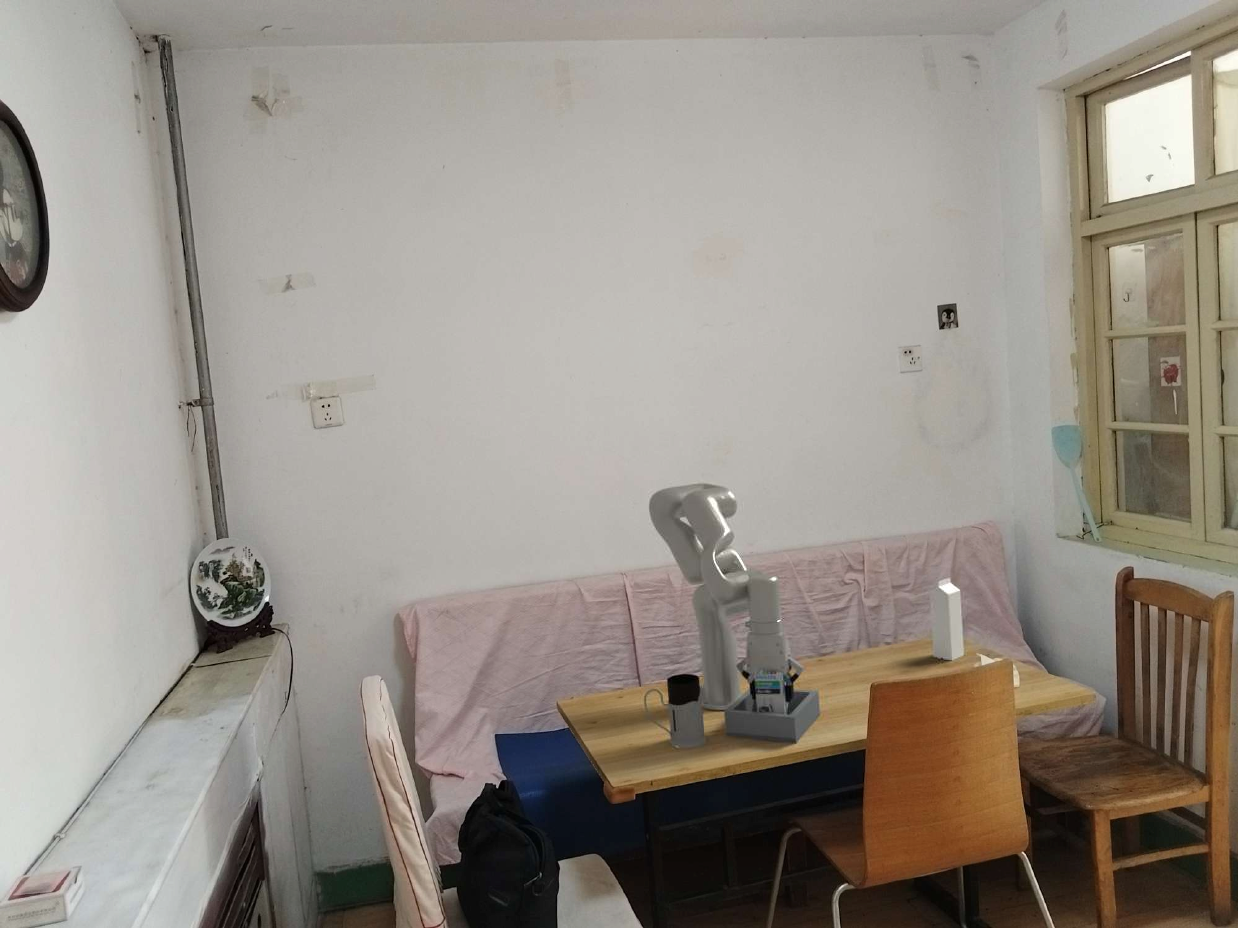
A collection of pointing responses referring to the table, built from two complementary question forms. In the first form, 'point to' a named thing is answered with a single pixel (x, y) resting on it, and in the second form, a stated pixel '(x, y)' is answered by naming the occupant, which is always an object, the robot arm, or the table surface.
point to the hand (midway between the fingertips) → (772, 698)
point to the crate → (772, 718)
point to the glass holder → (683, 711)
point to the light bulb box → (770, 692)
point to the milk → (946, 621)
